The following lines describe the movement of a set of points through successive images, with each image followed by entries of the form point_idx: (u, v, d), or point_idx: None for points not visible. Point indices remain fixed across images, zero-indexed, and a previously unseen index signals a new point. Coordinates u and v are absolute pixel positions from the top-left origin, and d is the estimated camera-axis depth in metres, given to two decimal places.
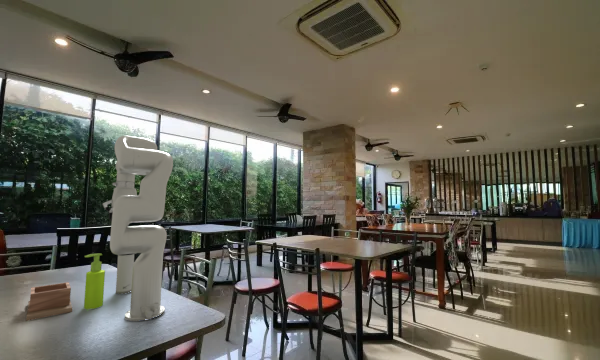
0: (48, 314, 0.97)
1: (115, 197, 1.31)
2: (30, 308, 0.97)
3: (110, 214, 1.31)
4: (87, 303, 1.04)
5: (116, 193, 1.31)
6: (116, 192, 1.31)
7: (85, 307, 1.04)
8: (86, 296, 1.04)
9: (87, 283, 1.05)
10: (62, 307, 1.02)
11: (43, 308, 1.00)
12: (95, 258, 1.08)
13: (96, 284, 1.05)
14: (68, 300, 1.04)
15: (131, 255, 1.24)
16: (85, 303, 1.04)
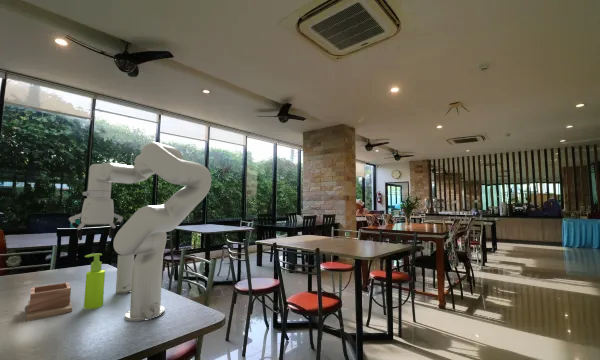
0: (48, 314, 0.97)
1: (85, 210, 1.05)
2: (30, 308, 0.97)
3: (78, 231, 1.05)
4: (87, 303, 1.04)
5: (86, 205, 1.05)
6: (86, 204, 1.05)
7: (85, 307, 1.04)
8: (86, 296, 1.04)
9: (87, 283, 1.05)
10: (62, 307, 1.02)
11: (43, 308, 1.00)
12: (95, 258, 1.08)
13: (96, 284, 1.05)
14: (68, 300, 1.04)
15: (131, 255, 1.24)
16: (85, 303, 1.04)
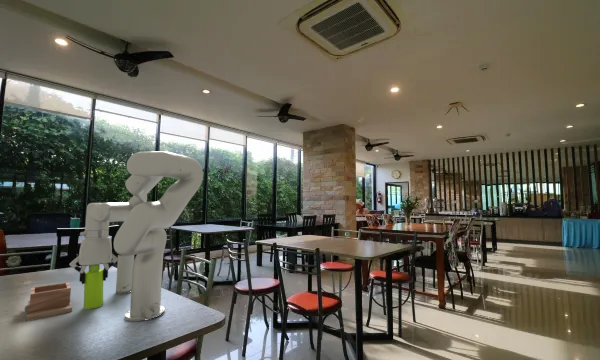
0: (48, 314, 0.97)
1: (82, 251, 1.03)
2: (30, 308, 0.97)
3: (81, 275, 1.04)
4: (86, 303, 1.04)
5: (84, 246, 1.04)
6: (84, 245, 1.04)
7: (85, 307, 1.04)
8: (85, 296, 1.04)
9: (86, 283, 1.05)
10: (62, 307, 1.02)
11: (43, 308, 1.00)
12: None
13: (95, 284, 1.05)
14: (68, 300, 1.04)
15: (131, 255, 1.24)
16: (85, 303, 1.04)
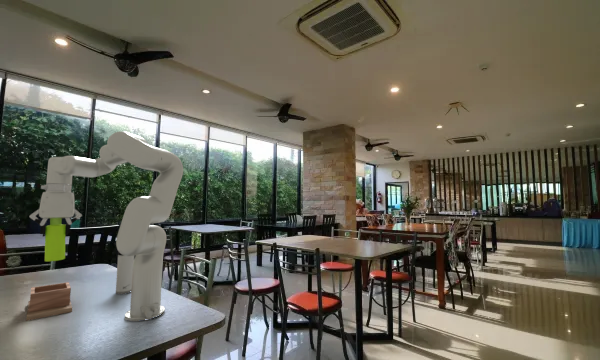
0: (48, 314, 0.97)
1: (43, 204, 1.03)
2: (30, 308, 0.97)
3: (41, 227, 1.04)
4: (47, 255, 1.04)
5: (44, 199, 1.04)
6: (44, 197, 1.04)
7: (45, 259, 1.04)
8: (46, 249, 1.04)
9: (46, 236, 1.04)
10: (62, 307, 1.02)
11: (43, 308, 1.00)
12: None
13: (56, 237, 1.05)
14: (68, 300, 1.04)
15: None
16: (45, 256, 1.04)
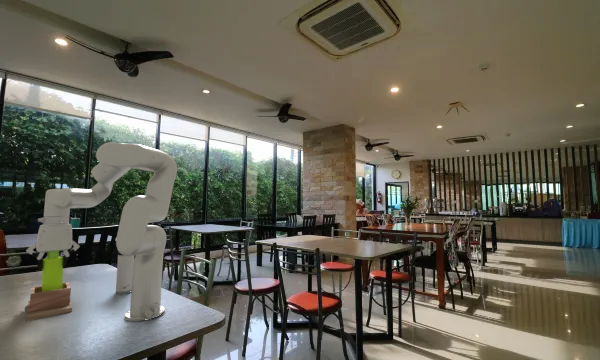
0: (48, 314, 0.97)
1: (40, 238, 1.02)
2: (30, 308, 0.97)
3: (39, 261, 1.03)
4: (44, 289, 1.03)
5: (41, 232, 1.03)
6: (41, 231, 1.03)
7: None
8: (43, 283, 1.03)
9: (43, 270, 1.03)
10: (62, 307, 1.02)
11: (43, 308, 1.00)
12: None
13: (53, 270, 1.04)
14: (68, 300, 1.04)
15: None
16: (42, 290, 1.03)
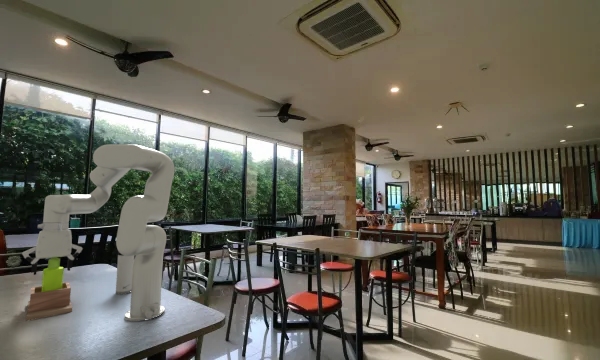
0: (48, 314, 0.97)
1: (39, 244, 1.02)
2: (30, 308, 0.97)
3: (33, 266, 1.02)
4: None
5: (41, 239, 1.03)
6: (41, 237, 1.03)
7: None
8: None
9: (43, 280, 1.03)
10: (62, 307, 1.02)
11: (43, 308, 1.00)
12: None
13: (53, 281, 1.04)
14: (68, 300, 1.04)
15: None
16: None
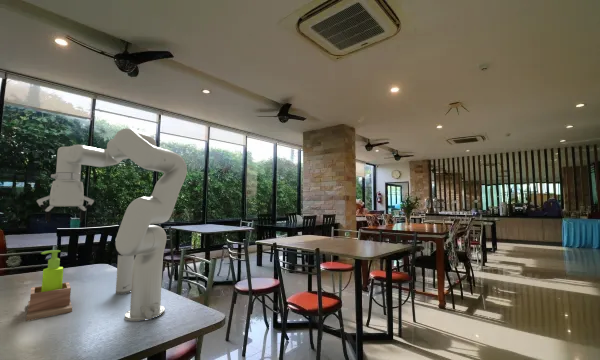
0: (48, 314, 0.97)
1: (53, 192, 1.05)
2: (30, 308, 0.97)
3: (47, 213, 1.05)
4: None
5: (54, 187, 1.05)
6: (54, 186, 1.05)
7: None
8: None
9: (43, 280, 1.03)
10: (62, 307, 1.02)
11: (43, 308, 1.00)
12: (53, 255, 1.06)
13: (53, 281, 1.04)
14: (68, 300, 1.04)
15: None
16: None
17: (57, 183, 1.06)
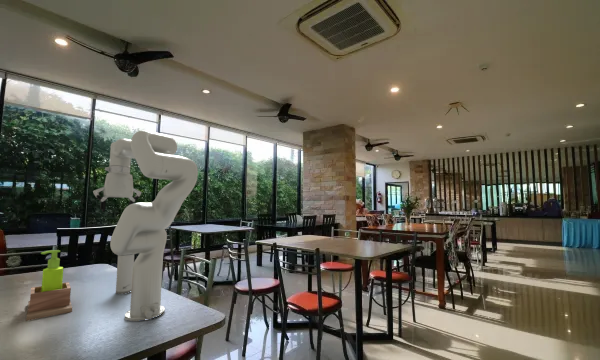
0: (48, 314, 0.97)
1: (108, 184, 1.13)
2: (30, 308, 0.97)
3: (102, 203, 1.13)
4: None
5: (109, 179, 1.14)
6: (109, 178, 1.14)
7: None
8: None
9: (43, 280, 1.03)
10: (62, 307, 1.02)
11: (43, 308, 1.00)
12: (52, 255, 1.06)
13: (53, 281, 1.04)
14: (68, 300, 1.04)
15: (131, 255, 1.24)
16: None
17: (111, 175, 1.14)
